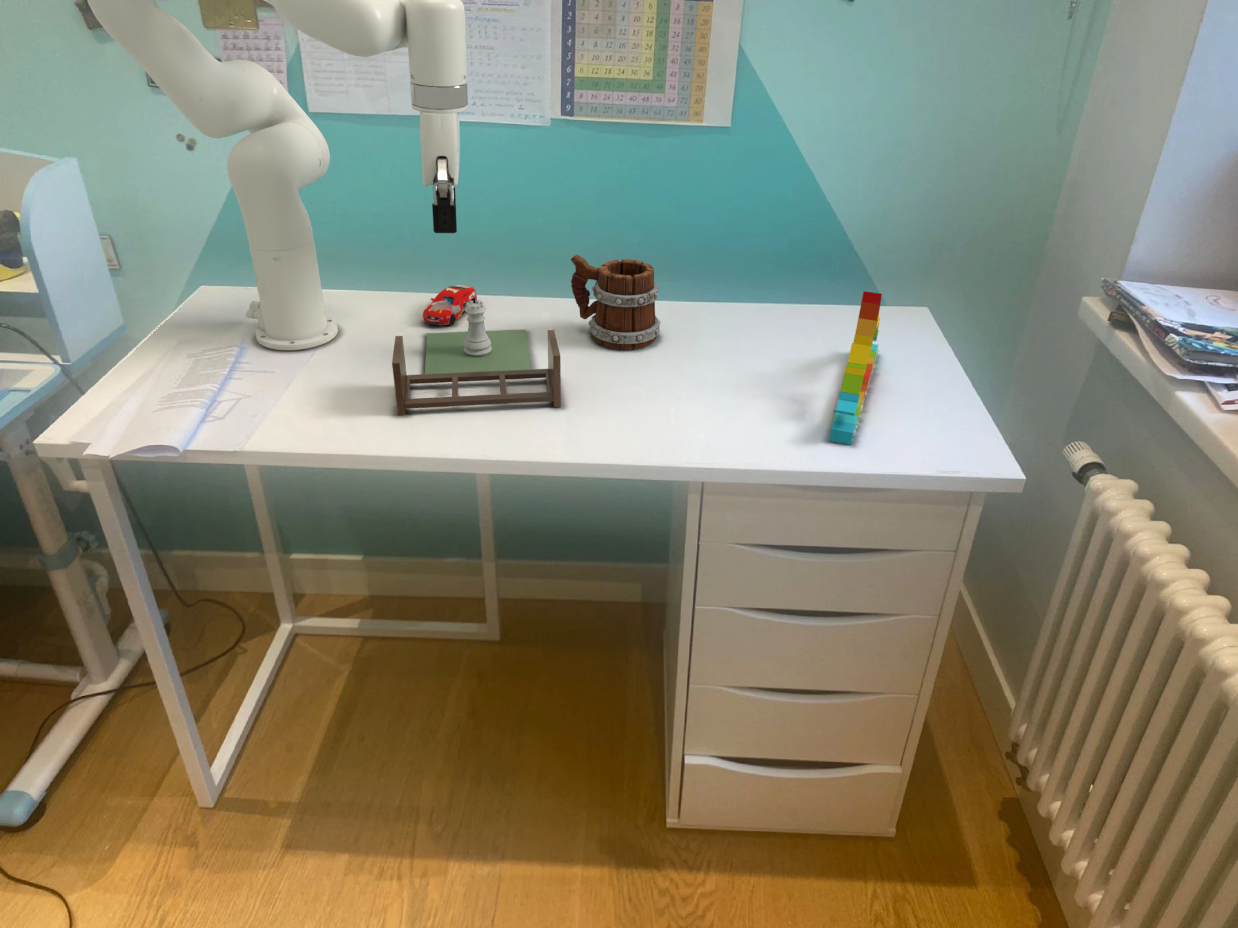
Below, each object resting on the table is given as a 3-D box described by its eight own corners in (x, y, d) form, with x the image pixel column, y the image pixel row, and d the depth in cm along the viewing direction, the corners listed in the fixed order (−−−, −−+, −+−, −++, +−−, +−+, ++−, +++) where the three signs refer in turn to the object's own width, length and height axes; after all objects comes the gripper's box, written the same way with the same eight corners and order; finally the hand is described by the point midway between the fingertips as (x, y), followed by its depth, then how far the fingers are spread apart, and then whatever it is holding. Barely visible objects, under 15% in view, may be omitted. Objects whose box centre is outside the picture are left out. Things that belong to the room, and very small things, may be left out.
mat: (427, 335, 150) (426, 333, 150) (525, 331, 152) (525, 329, 152) (424, 379, 137) (424, 376, 136) (532, 374, 139) (532, 371, 139)
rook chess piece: (497, 348, 145) (494, 300, 141) (484, 359, 142) (481, 311, 138) (471, 343, 147) (468, 296, 142) (458, 354, 143) (455, 306, 139)
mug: (656, 355, 145) (644, 263, 138) (571, 357, 149) (555, 268, 142) (672, 327, 155) (661, 239, 147) (592, 330, 159) (578, 245, 152)
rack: (400, 386, 134) (395, 335, 130) (554, 379, 138) (554, 329, 133) (397, 415, 127) (391, 363, 123) (561, 407, 130) (560, 355, 126)
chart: (852, 445, 123) (871, 342, 115) (828, 440, 124) (845, 338, 116) (877, 356, 147) (894, 266, 140) (857, 352, 148) (873, 263, 140)
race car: (446, 331, 152) (445, 308, 150) (417, 326, 153) (415, 303, 151) (482, 303, 162) (481, 281, 160) (455, 298, 164) (453, 277, 162)
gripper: (412, 83, 130) (419, 203, 140) (409, 109, 116) (417, 241, 125) (466, 85, 132) (470, 204, 141) (469, 111, 117) (473, 241, 126)
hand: (445, 221), depth 133 cm, fingers open, 9 cm apart
